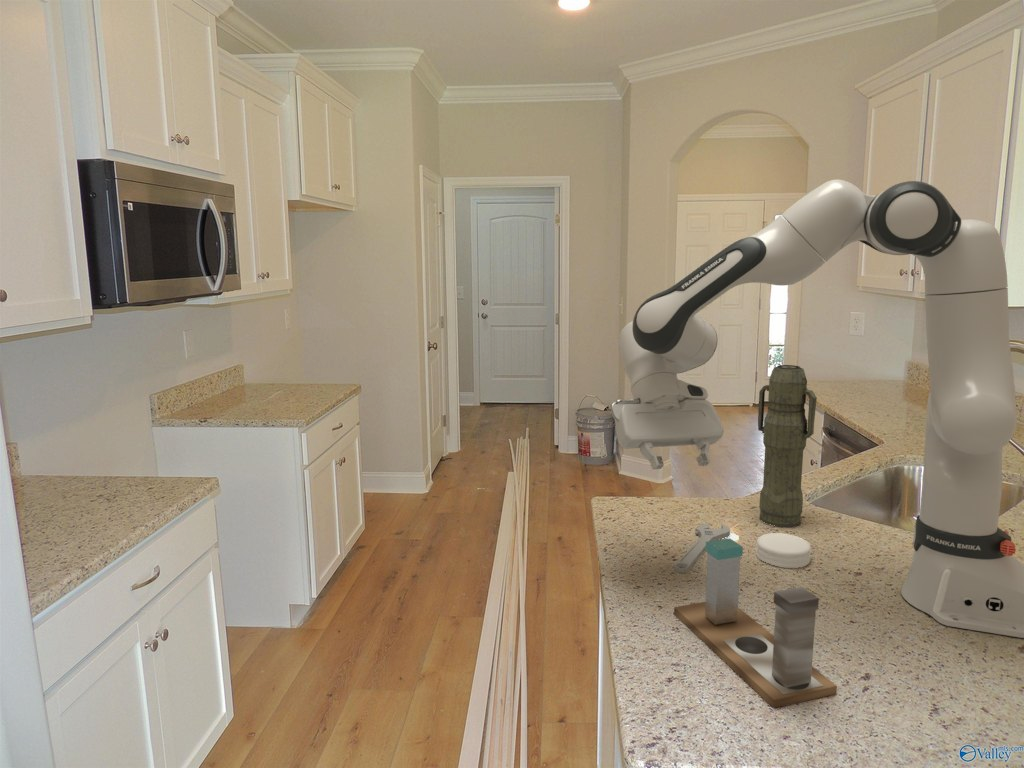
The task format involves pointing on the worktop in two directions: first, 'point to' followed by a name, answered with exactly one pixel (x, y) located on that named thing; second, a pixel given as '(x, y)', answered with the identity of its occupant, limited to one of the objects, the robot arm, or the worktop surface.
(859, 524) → the worktop surface
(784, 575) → the worktop surface
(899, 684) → the worktop surface
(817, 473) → the worktop surface
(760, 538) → the white flat disc
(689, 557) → the adjustable wrench
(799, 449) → the thermos
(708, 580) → the teal-lidded container
